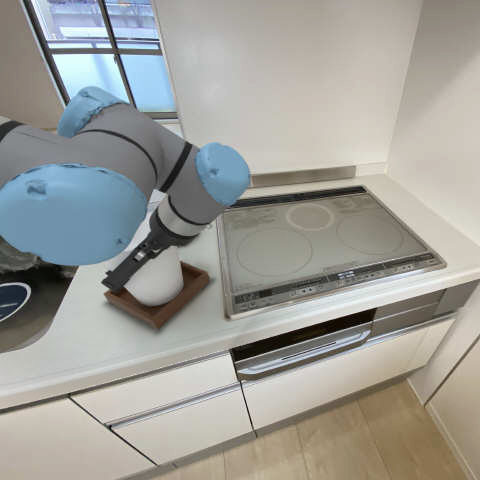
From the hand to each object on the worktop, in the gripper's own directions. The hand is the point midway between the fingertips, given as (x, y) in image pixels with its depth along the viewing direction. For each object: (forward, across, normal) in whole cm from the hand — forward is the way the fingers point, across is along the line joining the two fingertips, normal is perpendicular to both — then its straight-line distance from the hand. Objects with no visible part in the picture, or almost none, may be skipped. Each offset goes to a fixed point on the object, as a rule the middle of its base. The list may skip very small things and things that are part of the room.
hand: (139, 263), depth 54 cm
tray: (+4, 0, -8) cm, 9 cm away
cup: (+4, 0, -7) cm, 8 cm away
